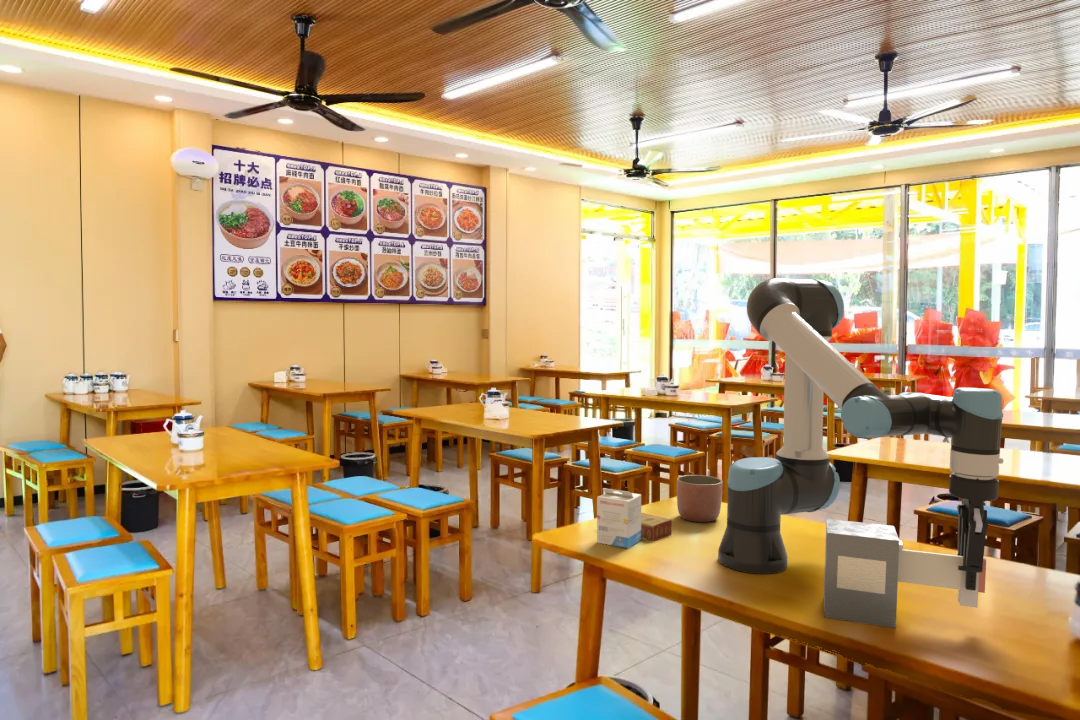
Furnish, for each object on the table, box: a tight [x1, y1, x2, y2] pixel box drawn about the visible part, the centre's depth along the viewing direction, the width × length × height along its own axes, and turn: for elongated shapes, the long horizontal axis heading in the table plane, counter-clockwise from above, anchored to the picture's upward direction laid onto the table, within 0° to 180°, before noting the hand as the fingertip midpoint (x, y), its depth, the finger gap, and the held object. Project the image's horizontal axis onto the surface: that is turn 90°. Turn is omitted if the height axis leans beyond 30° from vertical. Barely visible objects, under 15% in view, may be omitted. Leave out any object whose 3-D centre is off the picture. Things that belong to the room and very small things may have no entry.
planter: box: [676, 474, 724, 523], centre depth 198 cm, size 12×12×11 cm
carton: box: [641, 512, 673, 542], centre depth 186 cm, size 8×16×4 cm, turn 45°
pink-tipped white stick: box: [898, 548, 987, 594], centre depth 130 cm, size 18×1×6 cm, turn 69°
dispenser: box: [823, 518, 904, 629], centre depth 134 cm, size 13×10×16 cm
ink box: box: [596, 487, 642, 549], centre depth 176 cm, size 9×8×13 cm
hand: (967, 604), depth 128 cm, fingers closed, pressing on pink-tipped white stick
